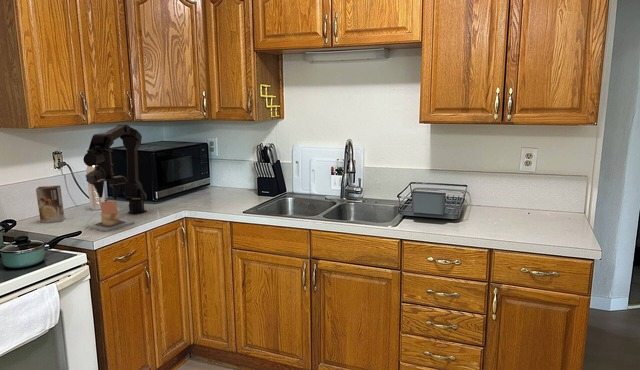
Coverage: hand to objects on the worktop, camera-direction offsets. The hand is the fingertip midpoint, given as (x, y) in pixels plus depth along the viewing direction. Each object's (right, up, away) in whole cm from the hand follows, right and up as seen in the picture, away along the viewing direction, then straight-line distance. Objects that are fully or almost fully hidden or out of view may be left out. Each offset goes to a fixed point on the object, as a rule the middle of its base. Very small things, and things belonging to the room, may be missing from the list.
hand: (108, 198), depth 209 cm
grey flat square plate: (0, -12, +2) cm, 12 cm away
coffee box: (-31, -11, +12) cm, 35 cm away
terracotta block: (0, -7, +1) cm, 7 cm away
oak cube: (0, -11, +2) cm, 12 cm away
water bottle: (-21, -6, +35) cm, 41 cm away
